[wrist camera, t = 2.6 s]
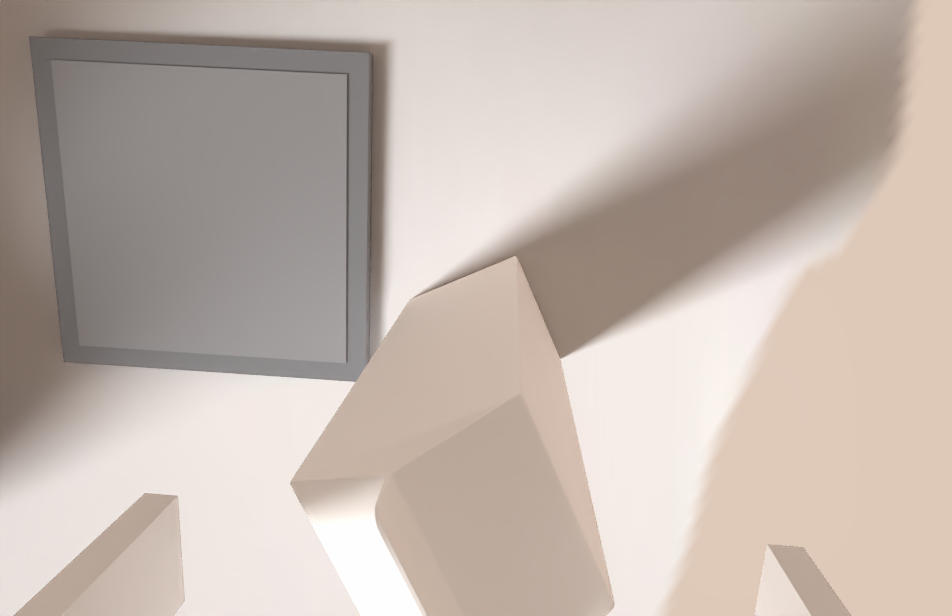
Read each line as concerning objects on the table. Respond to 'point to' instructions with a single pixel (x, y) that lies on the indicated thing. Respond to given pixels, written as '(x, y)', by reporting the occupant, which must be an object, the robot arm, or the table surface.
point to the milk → (460, 466)
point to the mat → (208, 204)
